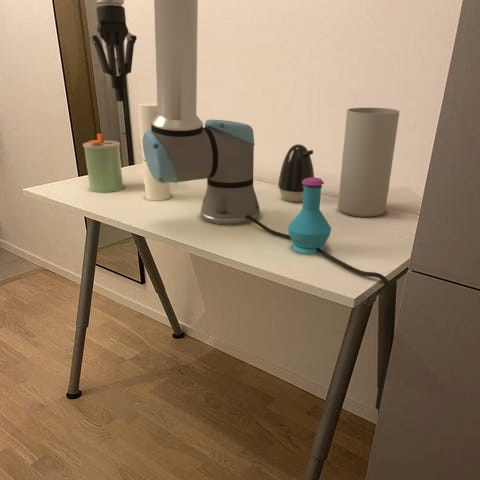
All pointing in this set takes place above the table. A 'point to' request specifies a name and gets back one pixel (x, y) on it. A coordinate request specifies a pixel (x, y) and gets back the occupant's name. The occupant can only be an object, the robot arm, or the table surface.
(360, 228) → the table surface
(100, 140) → the lid slider
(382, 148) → the cylinder vase
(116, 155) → the green lidded canister
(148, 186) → the cylindrical container
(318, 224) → the perfume bottle
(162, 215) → the table surface
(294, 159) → the pump dispenser
